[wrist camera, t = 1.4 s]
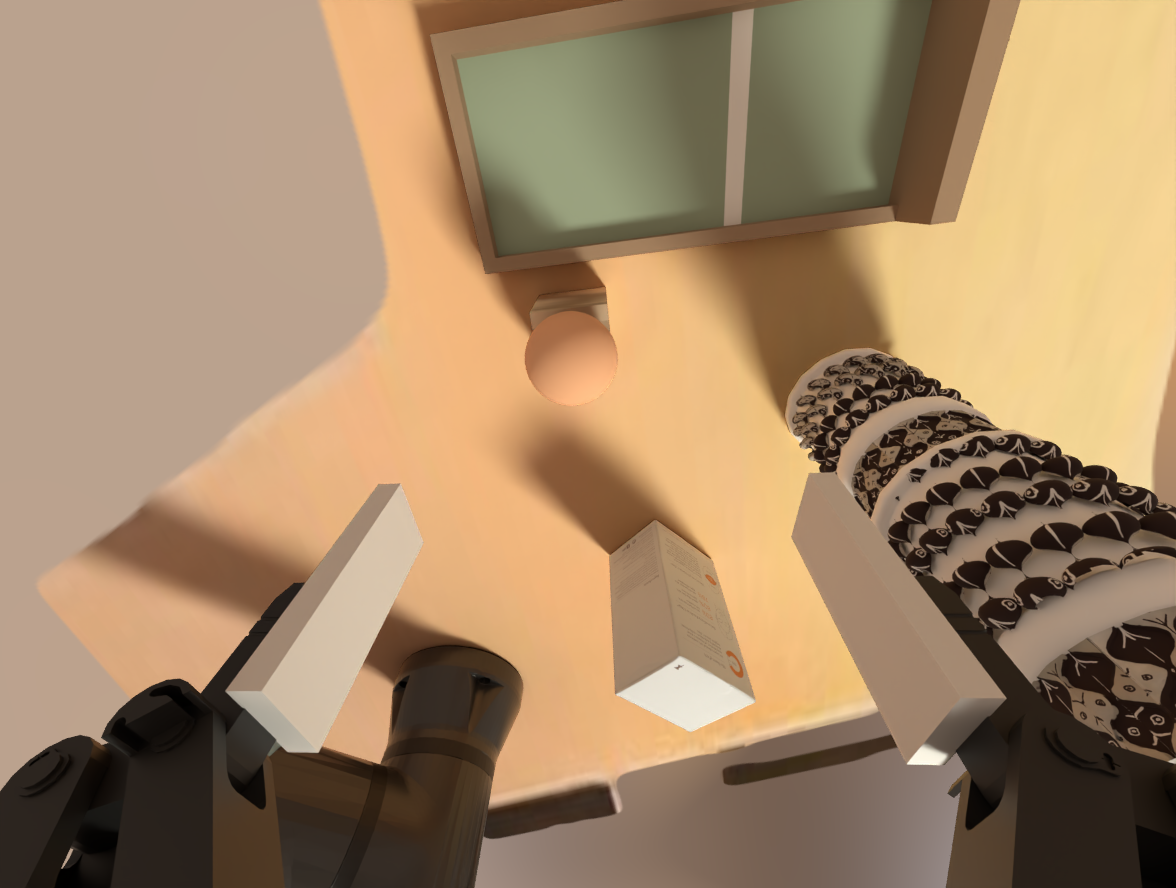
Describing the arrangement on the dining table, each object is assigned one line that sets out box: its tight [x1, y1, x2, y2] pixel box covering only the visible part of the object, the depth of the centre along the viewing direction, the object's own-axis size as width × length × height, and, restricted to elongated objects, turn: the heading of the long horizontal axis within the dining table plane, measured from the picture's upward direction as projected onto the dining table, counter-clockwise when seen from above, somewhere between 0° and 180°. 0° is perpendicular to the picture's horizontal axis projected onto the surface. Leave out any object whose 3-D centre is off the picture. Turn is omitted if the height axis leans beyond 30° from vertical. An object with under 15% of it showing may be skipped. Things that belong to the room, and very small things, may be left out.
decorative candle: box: [785, 348, 1176, 764], centre depth 20 cm, size 9×9×25 cm
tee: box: [529, 287, 610, 332], centre depth 26 cm, size 4×4×5 cm
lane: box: [430, 0, 1020, 274], centre depth 21 cm, size 25×11×4 cm, turn 97°
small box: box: [609, 520, 756, 732], centre depth 34 cm, size 8×6×13 cm
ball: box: [525, 311, 618, 406], centre depth 23 cm, size 5×5×5 cm
